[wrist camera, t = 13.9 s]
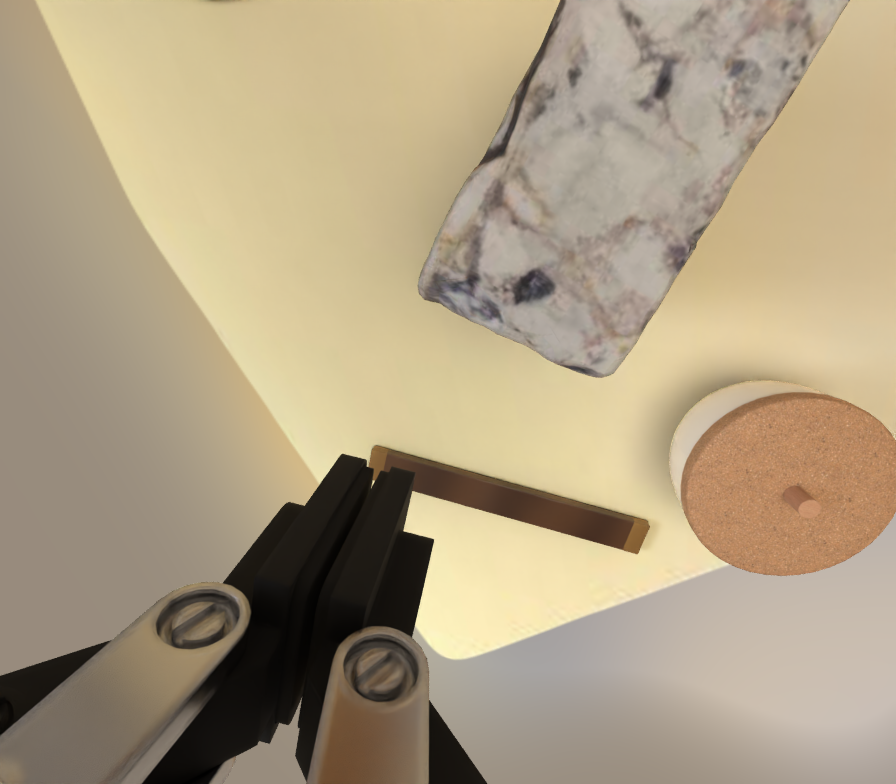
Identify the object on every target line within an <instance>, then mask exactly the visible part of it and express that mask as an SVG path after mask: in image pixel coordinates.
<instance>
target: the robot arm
mask: <svg viewBox="0 0 896 784" xmlns="http://www.w3.org/2000/svg"><path fill="white" fill-rule="evenodd" d="M366 466H367V460H365V459H361V458H357V457H353V456H349V455H345V454H341V455H340V457H339V458H338V460H337V461H336V462H335V464H334V465H333V467H332V468H331V469H330V471H329V472H328V474H327V475H326V476H325V478H324V479H323V481H322V482H321V484H320V485H319V486H318V488H317V489H316V491H315V492H314V493H313V495H312V496H311V498H310V499H309V501H308V502H307V503H306V505H305V506H303V505H299V504H295V503H291V502H288V503H286V504H285V505H284V506H283V507H282V508H281V509H280V511H279V512H278V513H277V515H276V516H275V517H274V518H273V519H272V521H271V522H270V524H269V525H268V526H267V527H266V528H265V530H264V531H263V532H262V534H261V535H260V536H259V537H258V539H257V540H256V541H255V543H254V544H253V545H252V546H251V548H250V549H249V550H248V551H247V553H246V554H245V555H244V557H243V558H242V559H241V560H240V562H239V563H238V564H237V566H236V567H235V568H234V570H233V571H232V572H231V573H230V574H229V576H228V577H227V578H226V580H225V581H224V582H223V583H219V582H201V583H195V584H190V585H186V586H184V587H181V588H179V589H176V590H174V591H172V592H170V593H169V594H167V595H166V596H165V597H163V598H161V599H160V600H158V602H156V603H155V604H154V605H153V606H151V607H150V608H149V609H148V610H147V611H146V612H144V613H143V614H142V615H141V616H140V617H139V618H137V619H136V620H135V621H134V622H133V623H132V624H130V625H129V626H128V627H127V628H126V629H125V630H123V631H122V632H121V633H120V634H119V635H117V636H116V637H115V638H114V639H113V640H110V641H107V642H104V643H101V644H98V645H95V646H92V647H88V648H85V649H82V650H79V651H76V652H73V653H70V654H67V655H64V656H61V657H57V658H54V659H51V660H48V661H45V662H42V663H39V664H36V665H33V666H29V667H26V668H23V669H20V670H17V671H14V672H11V673H8V674H5V675H2V676H0V784H223V783H224V781H225V780H226V778H227V777H228V775H229V773H230V771H231V769H232V767H233V765H234V763H235V760H236V756H237V755H239V754H241V753H243V752H245V751H247V750H249V749H251V748H252V747H254V746H256V745H257V744H258V742H259V741H261V742H265V743H270V742H271V740H272V738H273V735H274V733H275V731H276V729H277V727H278V724H279V723H282V724H286V725H289V724H290V723H291V721H292V719H293V717H294V714H295V712H296V710H297V707H298V705H299V703H300V700H301V698H302V701H301V708H300V714H299V721H298V728H300V730H299V736H298V742H297V749H296V755H295V756H296V759H297V761H298V763H299V766H300V768H301V770H302V773H303V775H304V777H305V779H306V782H307V783H306V784H487V783H486V781H485V780H484V778H483V777H482V775H481V774H480V773H479V771H478V770H477V768H476V767H475V765H474V764H473V762H472V761H471V760H470V758H469V757H468V755H467V754H466V752H465V751H464V749H463V748H462V747H461V745H460V744H459V742H458V741H457V739H456V738H455V736H454V735H453V734H452V732H451V731H450V729H449V728H448V726H447V725H446V723H445V722H444V721H443V719H442V718H441V716H440V715H439V713H438V712H437V711H436V709H435V708H434V706H433V705H432V703H431V702H430V700H429V668H428V662H427V658H426V656H425V654H424V652H423V650H422V648H421V647H420V646H419V645H418V643H416V641H415V640H414V639H412V635H413V631H414V627H415V622H416V618H417V613H418V609H419V605H420V600H421V596H422V591H423V587H424V583H425V578H426V574H427V569H428V565H429V561H430V556H431V552H432V548H433V543H434V539H431V538H427V537H423V536H419V535H416V534H412V533H408V532H404V531H403V530H404V525H405V521H406V516H407V512H408V507H409V503H410V498H411V494H412V489H413V485H414V480H415V475H416V472H413V471H409V470H405V469H401V468H397V467H393V466H392V467H391V469H390V471H389V472H386V471H382V470H381V471H380V473H379V475H378V477H377V478H376V480H375V482H374V484H373V486H372V488H371V485H372V480H373V475H374V468H370V467H366Z"/></svg>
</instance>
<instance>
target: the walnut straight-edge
mask: <svg viewBox="0 0 896 784" xmlns="http://www.w3.org/2000/svg"><path fill="white" fill-rule="evenodd" d="M392 466H393V467H397V468H401V469H405V470H409V471H413V472H416V475H415V480H414V485H413V489H412V491H415V492H418V493H422V494H426V495H429V496H433V497H436V498H440V499H443V500H447V501H450V502H454V503H458V504H461V505H465V506H468V507H472V508H475V509H479V510H483V511H486V512H490V513H493V514H497V515H500V516H504V517H507V518H511V519H515V520H518V521H522V522H525V523H529V524H532V525H536V526H539V527H543V528H547V529H550V530H554V531H557V532H561V533H564V534H568V535H572V536H575V537H579V538H582V539H586V540H589V541H593V542H596V543H600V544H604V545H607V546H611V547H614V548H618V549H621V550H624V551H628V552H631V553H635V554H638V553H639V550H640V548H641V546H642V543H643V541H644V539H645V537H646V534H647V532H648V530H649V527H650V526H649V524H648V521H646V520H643V519H639V518H635V517H631V516H628V515H624V514H621V513H617V512H613V511H610V510H606V509H602V508H599V507H595V506H592V505H588V504H584V503H581V502H577V501H574V500H570V499H566V498H563V497H559V496H556V495H552V494H548V493H545V492H541V491H538V490H534V489H530V488H527V487H523V486H520V485H516V484H512V483H509V482H505V481H501V480H498V479H494V478H491V477H487V476H483V475H480V474H476V473H473V472H469V471H465V470H462V469H458V468H455V467H451V466H447V465H444V464H440V463H437V462H433V461H429V460H426V459H422V458H418V457H415V456H411V455H408V454H404V453H400V452H397V451H393V450H390V449H387V448H383V447H379V446H374V448H373V449H372V452H371V457H370V462H369V467H370V468H374V475H373V480H376V478H377V477H378V475H379V473H380V471H381V470H382V471H386V472H389V471H390V469H391V467H392Z"/></svg>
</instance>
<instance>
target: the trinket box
mask: <svg viewBox="0 0 896 784" xmlns="http://www.w3.org/2000/svg"><path fill="white" fill-rule="evenodd" d="M669 464H670V475H671V479H672V483H673V487H674V490H675V493H676V496H677V498H678V500H679V502H680V505H681V507H682V509H683V510H684V513H685V516H686V518H687V520H688V522H689V524H690V526H691V528H692V530H693V531H694V533H695V534H696V536H697V537H698V539H699V540H700V541H701V543H702V544H703V545H704V546H705V547H706V548H707V549H708V550H709V551H710V552H711V553H713V554H714V555H716V556H717V557H718V558H720V559H721V560H723V561H725V562H727V563H729V564H731V565H733V566H735V567H737V568H740V569H744V570H746V571H749V572H754V573H759V574H764V575H777V576H787V575H800V574H805V573H812V572H816V571H819V570H822V569H826V568H829V567H831V566H834V565H836V564H839V563H841V562H843V561H845V560H847V559H849V558H850V557H852V556H854V555H855V554H857V553H859V552H860V551H861V550H863V549H864V548H865V547H867V546H868V545H869V544H871V543H872V542H873V541H874V540H875V539H876V538H877V536H879V535H880V533H881V532H882V531H883V530H884V529H885V528H886V526H887V525H888V523H889V522H890V521H891V519H892V518H893V516H894V514H895V512H896V441H895V439H894V438H893V436H892V434H891V433H890V432H889V431H888V429H887V428H886V427H885V426H884V425H883V424H882V423H881V422H880V421H879V420H877V419H876V418H875V417H874V416H872V415H871V414H870V413H868V412H866V411H864V410H863V409H861V408H859V407H857V406H855V405H853V404H851V403H849V402H847V401H844V400H841V399H838V398H835V397H832V396H830V395H827V394H825V393H823V392H820V391H817V390H814V389H811V388H808V387H805V386H801V385H798V384H793V383H787V382H781V381H770V380H757V381H748V382H742V383H738V384H734V385H730V386H726V387H724V388H722V389H719V390H717V391H715V392H713V393H711V394H709V395H708V396H706V397H704V398H703V399H702V400H700V401H699V402H698V403H696V404H695V405H694V406H693V407H692V408H691V409H690V410H689V411H688V412H687V413H686V415H685V416H684V418H683V419H682V420H681V422H680V423H679V425H678V427H677V429H676V431H675V434H674V437H673V440H672V443H671V447H670V455H669Z"/></svg>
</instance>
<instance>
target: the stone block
mask: <svg viewBox="0 0 896 784" xmlns="http://www.w3.org/2000/svg"><path fill="white" fill-rule="evenodd" d="M849 1H850V0H560V3H559V5H558V7H557V10H556V12H555V14H554V17H553V19H552V21H551V24H550V26H549V29H548V31H547V33H546V36H545V38H544V40H543V43H542V45H541V47H540V49H539V51H538V53H537V54H536V56H535V58H534V60H533V62H532V63H531V65H530V67H529V69H528V71H527V72H526V74H525V76H524V78H523V80H522V81H521V83H520V85H519V87H518V88H517V90H516V92H515V94H514V95H513V97H512V100H511V102H510V104H509V107H508V109H507V111H506V114H505V116H504V118H503V121H502V123H501V125H500V127H499V129H498V130H497V132H496V134H495V136H494V138H493V140H492V142H491V143H490V145H489V148H488V150H487V152H486V154H485V156H484V158H483V159H482V161H481V162H480V164H479V165H478V166H477V167H476V168H475V169H474V170H473V172H472V173H471V174H470V176H469V177H468V179H467V180H466V181H465V183H464V185H463V186H462V188H461V190H460V191H459V193H458V195H457V196H456V198H455V200H454V202H453V204H452V206H451V208H450V210H449V212H448V214H447V216H446V218H445V220H444V222H443V224H442V226H441V228H440V230H439V232H438V234H437V236H436V238H435V241H434V243H433V246H432V248H431V251H430V253H429V255H428V257H427V259H426V261H425V263H424V266H423V268H422V271H421V274H420V277H419V282H418V290H419V294H420V295H421V296H422V297H423V298H424V299H425V300H428V301H432V302H436V303H440V304H442V305H443V306H445V307H446V308H448V309H449V310H451V311H452V312H454V313H456V314H458V315H460V316H462V317H464V318H466V319H468V320H470V321H472V322H474V323H477V324H479V325H482V326H485V327H486V328H488V329H490V330H491V331H493V332H495V333H496V334H498V335H501V336H503V337H506V338H509V339H511V340H513V341H515V342H518V343H521V344H524V345H526V346H527V347H529V348H531V349H532V350H534V351H536V352H537V353H539V354H540V355H541V356H543V357H544V358H546V359H547V360H549V361H551V362H553V363H555V364H557V365H560V366H563V367H566V368H569V369H571V370H573V371H576V372H579V373H582V374H585V375H588V376H592V377H601V378H602V377H606V376H609V375H611V374H613V373H614V372H615V371H616V369H617V368H618V367H619V365H620V364H621V363H622V361H623V360H624V359H625V357H626V356H627V355H628V353H629V352H630V351H631V349H632V348H633V347H634V345H635V344H636V343H637V341H638V339H639V337H640V335H641V334H642V332H643V330H644V328H645V326H646V325H647V323H648V322H649V320H650V319H651V317H652V316H653V314H654V313H655V312H656V310H657V309H658V307H659V306H660V304H661V302H662V301H663V299H664V297H665V296H666V294H667V292H668V291H669V289H670V287H671V285H672V283H673V281H674V280H675V278H676V277H677V275H678V274H679V272H680V271H681V269H682V268H683V266H684V265H685V263H686V261H687V260H688V258H689V257H690V255H691V254H692V252H693V250H695V248H696V243H697V241H698V239H699V238H700V237H701V235H702V234H703V232H704V231H705V229H706V228H707V227H708V225H709V224H710V222H711V221H712V219H713V218H714V216H715V215H716V213H717V212H718V211H719V209H720V208H721V206H722V204H723V202H724V200H725V198H726V196H727V194H728V192H729V190H730V189H731V187H732V185H733V183H734V181H735V179H736V178H737V176H738V175H739V173H740V172H741V170H742V168H743V167H744V165H745V164H746V162H747V161H748V159H749V157H750V156H751V154H752V152H753V151H754V149H755V147H756V146H757V144H758V143H759V141H760V140H761V139H762V138H763V136H764V135H765V134H766V132H767V131H768V130H769V128H770V127H771V126H772V125H773V123H774V122H775V120H776V119H777V117H778V115H779V114H780V112H781V111H782V109H783V108H784V106H785V105H786V103H787V101H788V100H789V98H790V97H791V95H792V94H793V92H794V91H795V89H796V87H797V86H798V84H799V83H800V81H801V79H802V78H803V76H804V74H805V72H806V71H807V69H808V67H809V66H810V64H811V62H812V61H813V59H814V57H815V56H816V54H817V52H818V51H819V49H820V48H821V46H822V44H823V43H824V41H825V40H826V38H827V36H828V35H829V33H830V32H831V30H832V28H833V26H834V24H835V23H836V21H837V19H838V17H839V16H840V14H841V13H842V11H843V10H844V8H845V7H846V5H847V4H848V2H849Z"/></svg>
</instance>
